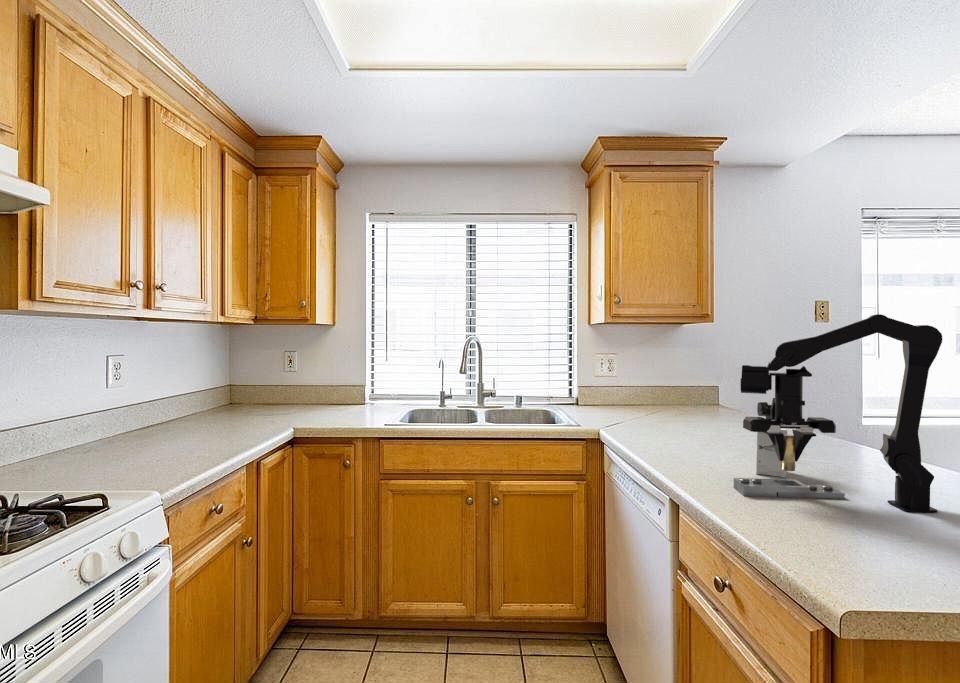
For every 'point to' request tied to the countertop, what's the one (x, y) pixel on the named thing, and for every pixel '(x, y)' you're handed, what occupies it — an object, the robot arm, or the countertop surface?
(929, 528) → the countertop surface
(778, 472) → the supplement box
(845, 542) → the countertop surface
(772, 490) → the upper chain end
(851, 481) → the countertop surface
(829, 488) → the lower chain end
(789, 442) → the brass pin
